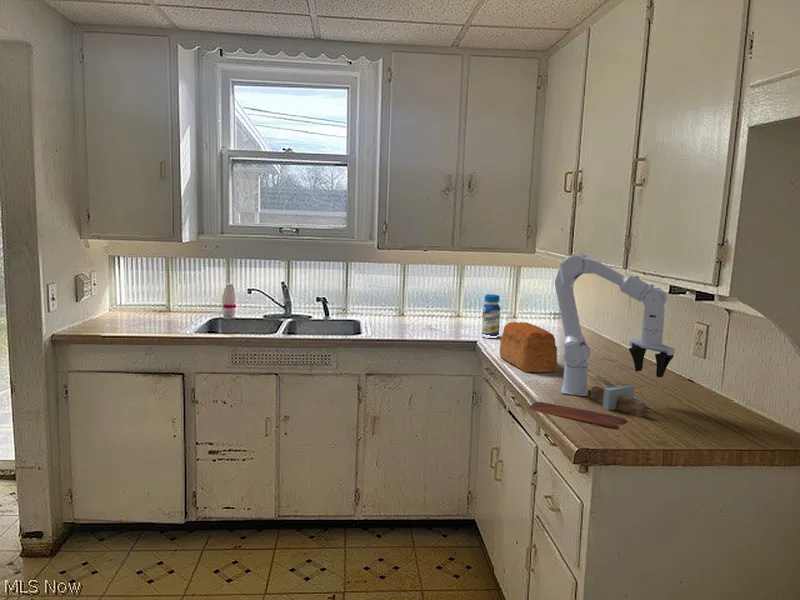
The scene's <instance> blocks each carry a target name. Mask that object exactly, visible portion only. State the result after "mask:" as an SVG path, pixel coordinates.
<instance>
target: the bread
mask: <svg viewBox="0 0 800 600" xmlns="http://www.w3.org/2000/svg"><path fill="white" fill-rule="evenodd" d="M499 346H500V348H499V355H500V358H502V359H503V360H505V361H506V362H507V361H508V362H507V363H510V364H511V363H512V365H513V366H515V367H516V368H518V369H519V370H521V371H522V370H523V372H524V373H530V372H543V373H554V372H556V371H557V369H558V368H557V367H558V365H559V364H558V347H557V345H556V337H555V336H554V334H552V333H551V332H550V331H548V330H547V329H545V328H542V327H539V326H537V325H536V324H532V323H529V322H525V321H522V322H521V321H520V322H517V321H513V322H507V324H505V326H504V327H503V331H502V334H501V338H500V344H499ZM553 371H554V372H553Z"/></svg>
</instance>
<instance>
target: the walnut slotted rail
mask: <svg viewBox="0 0 800 600" xmlns="http://www.w3.org/2000/svg"><path fill="white" fill-rule="evenodd" d="M604 389H605V388H603V387H600V386H597V385H595V386H591V392H590V400H592V401H594V402H597V403H600V404H602V405H603V398H604ZM645 404H646V403H645V401H641V400H638V399H635V398H634V397H633V398H630V397H627V396H619V401H618V402H617V405H616V409H615V410H619V411H621V412H624V413H626V414H629V415H632V416H635V417H637V418H641V417H642V418H643V417H644V416H645V406H646V405H645Z"/></svg>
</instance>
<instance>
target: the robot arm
mask: <svg viewBox="0 0 800 600" xmlns="http://www.w3.org/2000/svg"><path fill="white" fill-rule="evenodd" d="M584 274H586V275H587V274H589V275H590V274H591V275H593V274H595V275H598V276H600V277H601V278H603V279H605V280H607V281H609V282H611V283H613V284H615V285H617V286H618V287H619V289H620V292H621V293H622V294H623V293H624V294H625V295H627V296H629V297H630V298H632V299H634V300H636V301H638V302H639V303H640V302H643V305H644V312H643V314H642V315H643V317H642V326H641V327H642V328H641V339H636V338H630V339H629V344H628V346H631V347H628V351H629V353H630V355H631V357H632V360H633V364H634V370H635V371H636V372H641V371H643V368H644V358H645V355H646V352H647V350H648V351H653V352H656V353H654V357H655V362H656V369H655V370H656V371H655V375H656V378H663V377H664V376H665V372H666V370H667V368H668V365H669V364H670V362H671V361H672V360H673V358H674V355H675V353H676V352H675V350H676V348H674V347H671V346H669V345H666V344H663V337H664V334H663V333H664V327H665V325H664V323H665V311H666V310H665V304H666V303H667V298H668V297H667V294H666V292H665V291H664V290H662V289H661V288H660V287H655V285H654V284H649V283H647V282H645V281H643V280H642V279H640V278H641V277H640V276H639V275H636V274H635V275H634V276H633V275H632V274H630V275H629V274H628V275H623V274H621V273H619V272H618V271H617V270H615V269H613V268H611V267H610V266H607V265H606V264H604V263H602V262H601V261H599V260H597V259H596V258H592V257H590V256H587V255H585V254H583V253H576V254H570V255H568V256H566V257H565V258H564V259H563V260H562V261H561V263H560V264H559V268H558V272H557V275H556V277H555V280H554V287H555V292H556V298H557V303H558V306H559V307H558V308H559V313H560V316H561V317H560V318H561V321H562V327H563V331H564V336H565V337H564V342H563V346H564V350H563V351H564V352H563V360H564V363H563V364H564V367H563V382H562V383H563V384H561V394H563V395H573V396H583V397H588V395H589V393H588V374H589V372H588V371H589V364H588V362H587V360H588V359H589V358H590V355H591V349H590V347H589V346H588V344H587V342H586V339H585V336H584V335H583V333H582V328H581V325H580V323H581V322H580V318H579V314H578V310H577V304H576V300H575V299H576V298H575V293H574V289H573V285H574V283H575V282H576V281H577V280H578V278H579V277H580V276H582V275H584Z"/></svg>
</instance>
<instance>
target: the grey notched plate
mask: <svg viewBox="0 0 800 600" xmlns="http://www.w3.org/2000/svg"><path fill="white" fill-rule="evenodd" d="M619 396H627V397H630V398H633V399H634V385H630V384H625V385H619V386H612V387H611V386H610V387H606V388H604V398H603V404H602V409H603V410H606V411H611V410H617V409H616V405H617V402H618V401H619Z"/></svg>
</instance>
